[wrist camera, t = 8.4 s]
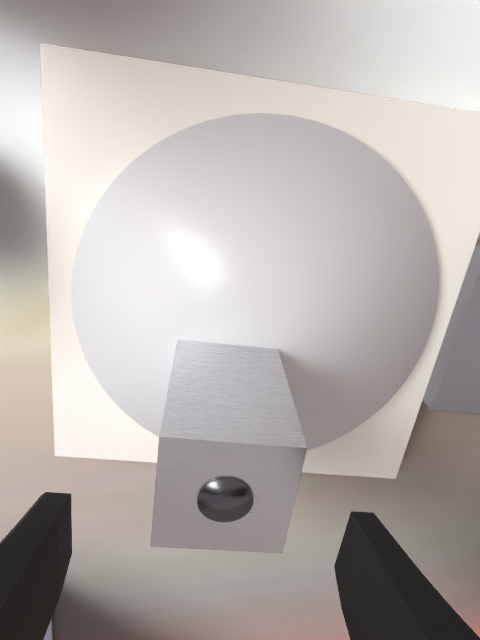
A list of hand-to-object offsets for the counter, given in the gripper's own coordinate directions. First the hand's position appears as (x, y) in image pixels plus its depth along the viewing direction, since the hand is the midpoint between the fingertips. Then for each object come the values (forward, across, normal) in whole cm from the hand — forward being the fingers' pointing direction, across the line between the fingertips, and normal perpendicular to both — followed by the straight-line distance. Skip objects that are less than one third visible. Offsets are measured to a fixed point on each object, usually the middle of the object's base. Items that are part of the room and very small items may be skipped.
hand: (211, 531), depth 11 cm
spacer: (+7, 0, 0) cm, 7 cm away
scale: (+9, -3, -3) cm, 10 cm away
